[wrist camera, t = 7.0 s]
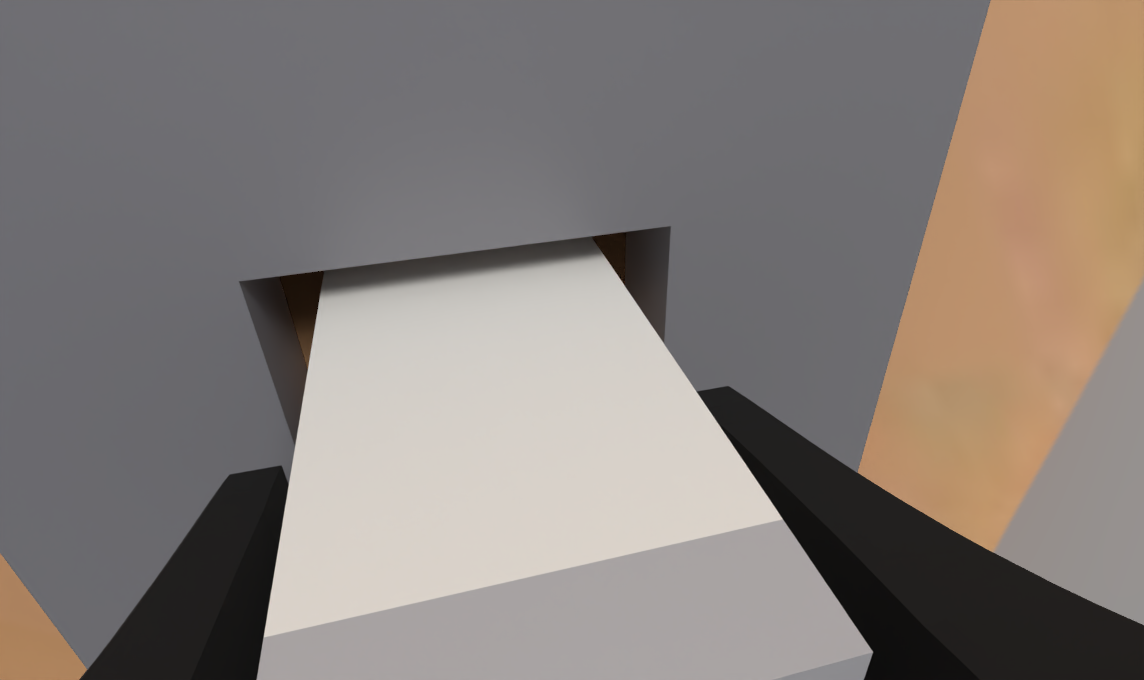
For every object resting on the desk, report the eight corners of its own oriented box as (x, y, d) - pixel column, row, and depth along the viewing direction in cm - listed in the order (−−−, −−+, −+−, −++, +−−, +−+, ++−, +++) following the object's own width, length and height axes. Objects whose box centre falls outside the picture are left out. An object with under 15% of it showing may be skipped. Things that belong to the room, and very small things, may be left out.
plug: (378, 446, 12) (374, 1034, 6) (327, 250, 10) (231, 828, 4) (585, 408, 13) (791, 893, 7) (578, 217, 11) (873, 651, 4)
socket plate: (184, 668, 14) (150, 799, 12) (-297, -121, 7) (-605, -135, 5) (778, 534, 17) (835, 623, 15) (919, -147, 9) (1080, -163, 7)
